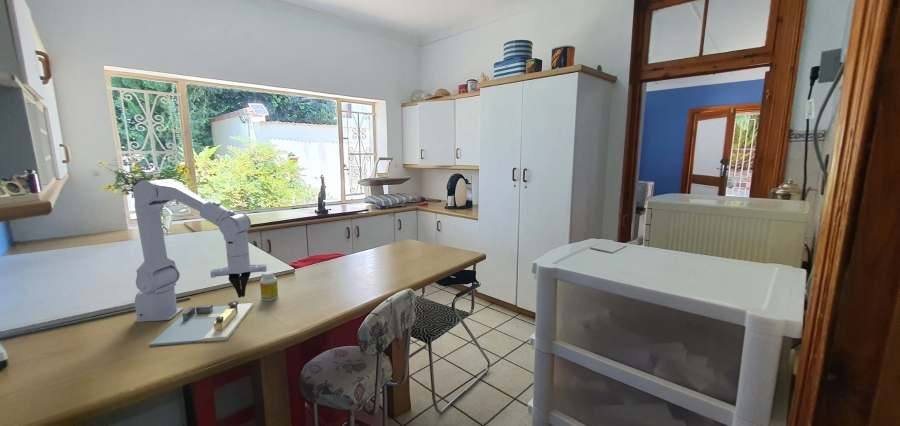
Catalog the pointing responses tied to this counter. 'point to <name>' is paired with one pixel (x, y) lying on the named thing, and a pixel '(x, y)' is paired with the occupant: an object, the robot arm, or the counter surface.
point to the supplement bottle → (268, 286)
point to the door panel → (201, 327)
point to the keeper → (197, 311)
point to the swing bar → (224, 318)
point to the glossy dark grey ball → (233, 305)
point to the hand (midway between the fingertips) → (241, 296)
